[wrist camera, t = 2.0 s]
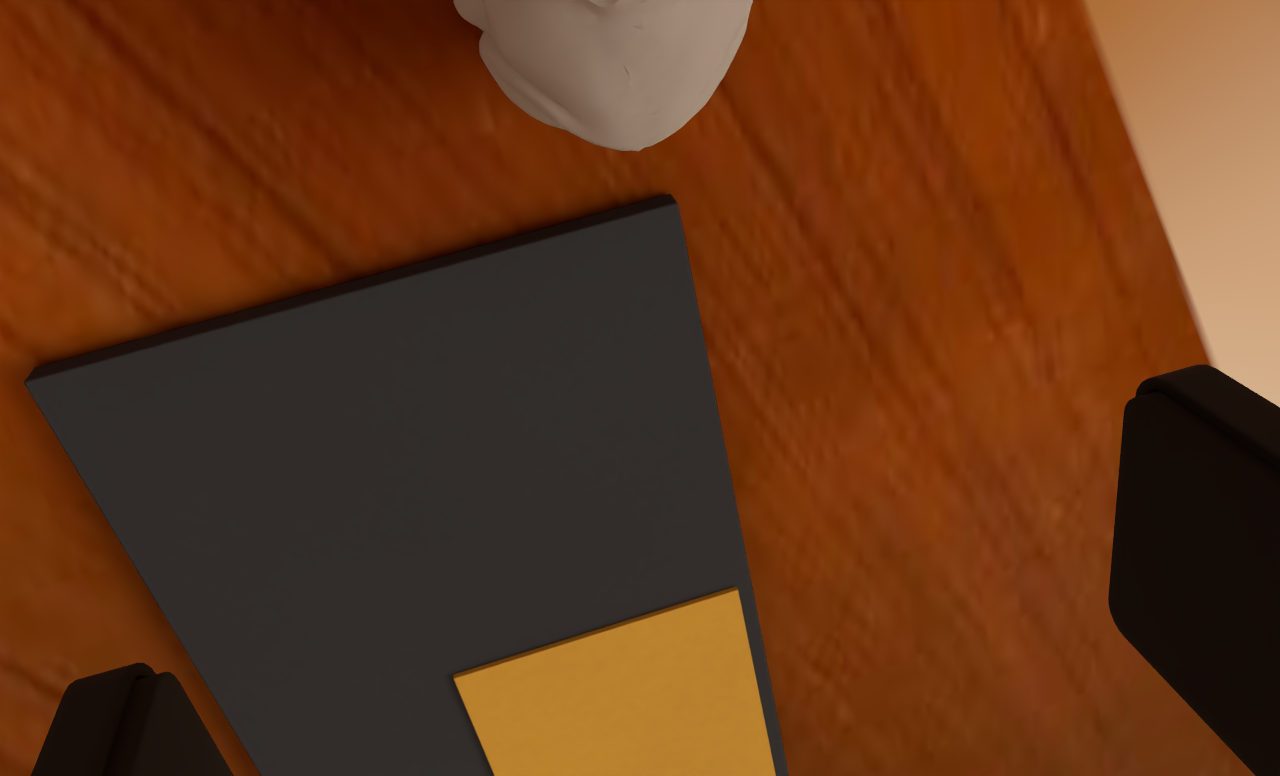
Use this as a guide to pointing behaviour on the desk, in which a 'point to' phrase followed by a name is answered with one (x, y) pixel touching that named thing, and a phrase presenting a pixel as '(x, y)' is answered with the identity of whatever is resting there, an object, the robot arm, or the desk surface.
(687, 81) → the carved stone head
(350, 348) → the desk mat
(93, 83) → the desk surface
